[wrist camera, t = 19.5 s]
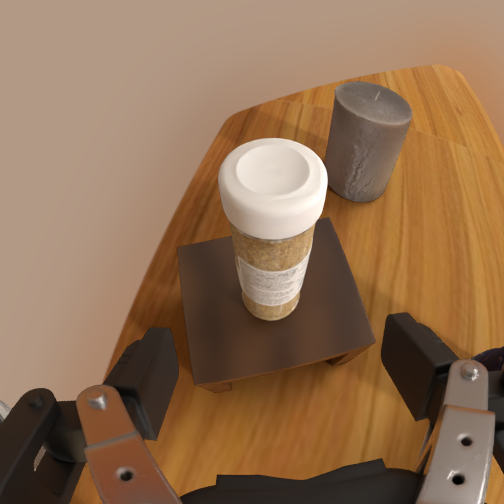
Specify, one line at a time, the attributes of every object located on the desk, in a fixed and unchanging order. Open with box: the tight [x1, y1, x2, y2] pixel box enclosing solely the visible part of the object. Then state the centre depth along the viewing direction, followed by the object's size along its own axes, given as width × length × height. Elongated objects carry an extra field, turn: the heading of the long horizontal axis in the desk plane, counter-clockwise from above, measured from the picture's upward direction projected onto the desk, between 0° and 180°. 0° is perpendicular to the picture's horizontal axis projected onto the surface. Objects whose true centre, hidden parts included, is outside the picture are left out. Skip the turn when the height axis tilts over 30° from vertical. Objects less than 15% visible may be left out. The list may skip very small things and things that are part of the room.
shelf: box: [177, 217, 376, 393], centre depth 27 cm, size 14×12×9 cm
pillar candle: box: [324, 81, 412, 202], centre depth 35 cm, size 10×10×15 cm
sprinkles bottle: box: [218, 138, 328, 321], centre depth 18 cm, size 5×5×14 cm
